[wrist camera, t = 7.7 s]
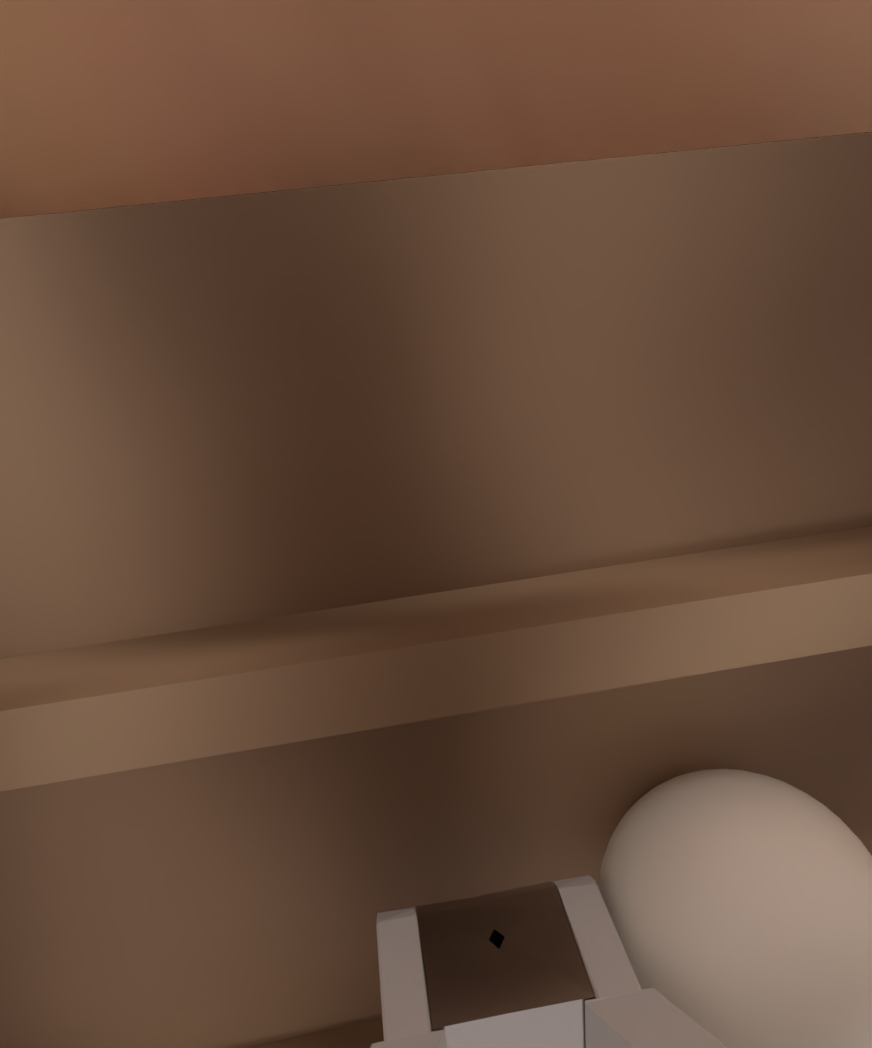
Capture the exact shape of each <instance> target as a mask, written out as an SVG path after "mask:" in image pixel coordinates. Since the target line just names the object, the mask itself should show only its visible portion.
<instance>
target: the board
mask: <svg viewBox="0 0 872 1048" xmlns="http://www.w3.org/2000/svg"><path fill="white" fill-rule="evenodd" d="M709 769H735V770H744V771H749V772H754V773H758V774H762V775H766V776H769V777H772V778H775V779H778V780H781V781H783V782H786V783H788V784H789V785H791V786H793V787H795V788H797V789H799V790H801V791H803V792H805V793H807V794H808V795H810V796H811V797H813V798H814V799H816V800H817V801H819V802H820V803H822V804H823V805H825V806H826V807H827V808H828V809H830V810H831V811H832V812H833V813H834V814H835V815H837V816H838V817H839V818H840V819H841V820H842V821H843V822H844V823H845V824H846V825H847V826H848V827H849V828H850V830H851V831H852V832H853V833H854V834H855V835H856V836H857V837H858V838H859V839H860V840H861V842H862V843H863V844H864V846H865V847H866V848H867V850H868V851H869V853H870V854H871V855H872V132H865V133H855V134H845V135H835V136H825V137H815V138H805V139H795V140H785V141H775V142H765V143H755V144H744V145H734V146H724V147H714V148H704V149H694V150H684V151H674V152H664V153H654V154H644V155H634V156H624V157H614V158H604V159H594V160H584V161H574V162H564V163H554V164H544V165H534V166H524V167H513V168H503V169H493V170H483V171H473V172H463V173H453V174H443V175H433V176H423V177H413V178H403V179H393V180H383V181H373V182H363V183H353V184H343V185H333V186H323V187H313V188H303V189H293V190H282V191H272V192H262V193H252V194H242V195H232V196H222V197H212V198H202V199H192V200H182V201H172V202H162V203H152V204H142V205H132V206H122V207H112V208H102V209H92V210H82V211H72V212H62V213H51V214H41V215H31V216H21V217H11V218H1V219H0V1048H370V1046H371V1044H373V1043H377V1042H381V1041H384V1035H383V1020H382V1004H381V989H380V974H379V959H378V943H377V928H376V923H377V913H380V912H386V911H393V910H399V909H405V908H411V907H415V908H416V906H421V905H427V904H434V903H440V902H447V901H453V900H460V899H466V898H473V897H479V896H480V895H484V894H489V893H494V892H499V891H504V890H509V889H514V888H519V887H524V886H530V885H535V884H540V883H545V882H550V881H551V882H552V883H553V882H554V881H559V880H564V879H569V878H575V877H580V876H586V875H590V876H591V877H592V878H593V879H594V880H595V881H596V883H597V886H598V884H599V875H600V869H601V864H602V861H603V857H604V854H605V852H606V849H607V846H608V843H609V841H610V839H611V836H612V834H613V832H614V830H615V829H616V827H617V825H618V824H619V822H620V821H621V819H622V818H623V816H624V815H625V814H626V813H627V811H628V810H629V809H630V808H631V807H632V806H633V805H634V804H635V803H636V802H637V801H638V800H639V799H640V798H642V797H643V796H644V795H645V794H646V793H648V792H649V791H650V790H652V789H653V788H655V787H656V786H658V785H660V784H662V783H664V782H666V781H668V780H670V779H672V778H674V777H677V776H680V775H683V774H687V773H691V772H695V771H700V770H709ZM416 915H417V908H416ZM417 922H418V917H417ZM418 929H419V925H418ZM419 936H420V933H419ZM420 942H421V941H420Z"/></svg>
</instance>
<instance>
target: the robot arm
mask: <svg viewBox="0 0 872 1048" xmlns="http://www.w3.org/2000/svg"><path fill="white" fill-rule="evenodd" d="M416 908H417V915H416ZM416 908H415V907H411V908H405V909H399V910H393V911H386V912H380V913H377V923H376V928H377V943H378V959H379V974H380V989H381V1004H382V1020H383V1035H384V1041H381V1042H377V1043H373V1044H371V1046H370V1048H728V1047H727V1046H726V1045H724V1044H723V1043H722V1042H721V1041H719V1040H718V1039H717V1038H716V1037H714V1036H713V1035H712V1034H711V1033H709V1032H708V1031H707V1030H706V1029H704V1028H703V1027H702V1026H701V1025H699V1024H698V1023H697V1022H696V1021H694V1020H693V1019H692V1018H691V1017H689V1016H688V1015H687V1014H686V1013H684V1012H683V1011H682V1010H681V1009H679V1008H678V1007H677V1006H676V1005H674V1004H673V1003H672V1002H671V1001H669V1000H668V999H667V998H666V997H664V996H663V995H662V994H661V993H659V992H658V991H657V990H656V989H654V988H647V989H641V987H640V984H639V982H638V980H637V977H636V975H635V973H634V970H633V968H632V966H631V963H630V961H629V959H628V956H627V954H626V952H625V949H624V947H623V944H622V942H621V940H620V937H619V935H618V933H617V930H616V928H615V926H614V923H613V921H612V919H611V916H610V914H609V912H608V909H607V907H606V905H605V902H604V900H603V897H602V895H601V893H600V890H599V888H598V886H597V883H596V881H595V880H594V879H593V878H592V877H591V876H590V875H586V876H580V877H575V878H569V879H564V880H559V881H554V882H553V883H552V882H551V881H550V882H545V883H540V884H535V885H530V886H524V887H519V888H514V889H509V890H504V891H499V892H494V893H489V894H484V895H480V896H479V897H473V898H466V899H460V900H453V901H447V902H440V903H434V904H427V905H421V906H416ZM417 917H418V922H417ZM418 925H419V929H418ZM419 933H420V936H419ZM420 941H421V942H420Z"/></svg>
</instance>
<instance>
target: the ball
mask: <svg viewBox="0 0 872 1048" xmlns="http://www.w3.org/2000/svg"><path fill="white" fill-rule="evenodd" d="M598 888H599V890H600V893H601V895H602V897H603V900H604V902H605V905H606V907H607V909H608V912H609V914H610V916H611V919H612V921H613V923H614V926H615V928H616V930H617V933H618V935H619V937H620V940H621V942H622V944H623V947H624V949H625V952H626V954H627V956H628V959H629V961H630V963H631V966H632V968H633V970H634V973H635V975H636V977H637V980H638V982H639V984H640V987H641V989H647V988H654V989H656V990H657V991H658V992H659V993H661V994H662V995H663V996H664V997H666V998H667V999H668V1000H669V1001H671V1002H672V1003H673V1004H674V1005H676V1006H677V1007H678V1008H679V1009H681V1010H682V1011H683V1012H684V1013H686V1014H687V1015H688V1016H689V1017H691V1018H692V1019H693V1020H694V1021H696V1022H697V1023H698V1024H699V1025H701V1026H702V1027H703V1028H704V1029H706V1030H707V1031H708V1032H709V1033H711V1034H712V1035H713V1036H714V1037H716V1038H717V1039H718V1040H719V1041H721V1042H722V1043H723V1044H724V1045H726V1046H727V1047H728V1048H872V855H871V854H870V853H869V851H868V850H867V848H866V847H865V846H864V844H863V843H862V842H861V840H860V839H859V838H858V837H857V836H856V835H855V834H854V833H853V832H852V831H851V830H850V828H849V827H848V826H847V825H846V824H845V823H844V822H843V821H842V820H841V819H840V818H839V817H838V816H837V815H835V814H834V813H833V812H832V811H831V810H830V809H828V808H827V807H826V806H825V805H823V804H822V803H820V802H819V801H817V800H816V799H814V798H813V797H811V796H810V795H808V794H807V793H805V792H803V791H801V790H799V789H797V788H795V787H793V786H791V785H789V784H788V783H786V782H783V781H781V780H778V779H775V778H772V777H769V776H766V775H762V774H758V773H754V772H749V771H744V770H735V769H709V770H700V771H695V772H691V773H687V774H683V775H680V776H677V777H674V778H672V779H670V780H668V781H666V782H664V783H662V784H660V785H658V786H656V787H655V788H653V789H652V790H650V791H649V792H648V793H646V794H645V795H644V796H643V797H642V798H640V799H639V800H638V801H637V802H636V803H635V804H634V805H633V806H632V807H631V808H630V809H629V810H628V811H627V813H626V814H625V815H624V816H623V818H622V819H621V821H620V822H619V824H618V825H617V827H616V829H615V830H614V832H613V834H612V836H611V839H610V841H609V843H608V846H607V849H606V852H605V854H604V857H603V861H602V864H601V869H600V875H599V884H598Z"/></svg>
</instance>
